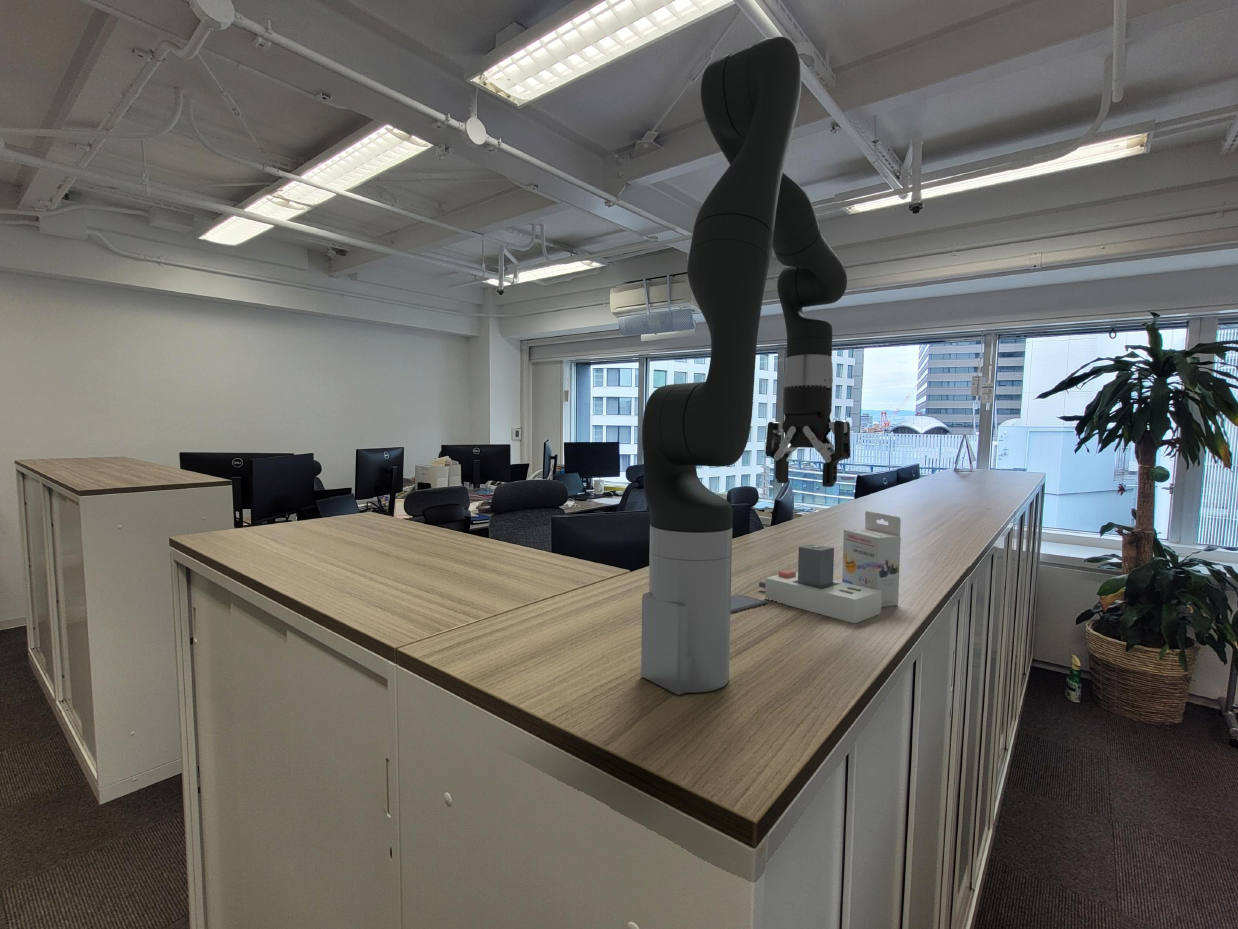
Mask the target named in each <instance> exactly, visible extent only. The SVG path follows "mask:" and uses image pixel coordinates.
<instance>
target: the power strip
mask: <svg viewBox="0 0 1238 929" xmlns="http://www.w3.org/2000/svg"><path fill="white" fill-rule="evenodd" d="M758 587H759V588H761V589H765V591H764V595H765V596H764V598H768V599H770V600H769V601H771V600H774V601H773V602H775V601H777V602H776V603H779V604H782V603H783V604H782V605H787V606H790V607H794V608H797V609H801V610H804V611H807V612H812V613H816V614H819V615H823V616H825V617H830V618H832V619H837V620H839V621H844V622H847V623H851V624H857V623H860V622H863V621H865V620H867V619H870V618H871V619H872V618H873V617H875V616H878V615H880V614H882V607H881V596H882V591H880V590H875V589H871V588H866V587H862V586H857V585H853V584H848V583H843V582H842V581H839V580H835V579H833V586H831V587H828V588H824V589H819V588H814V587H810V586H806V585H802V584H798V571H794V570H790V569H784V570H779V571H778V574H776V575H773V576H768V577H765V582H764V581H760V582H758ZM768 599H767V600H768Z"/></svg>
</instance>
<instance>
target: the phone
mask: <svg viewBox="0 0 1238 929" xmlns="http://www.w3.org/2000/svg"><path fill="white" fill-rule="evenodd" d="M736 595H737V596H734V595H732V596H733V597H731V611H730V615H733V614H736V613H735V612H737V613H739V612H738V611H741V612H743V611H742V610H745V611H747V610H746V609H748V610H751V609H750V608H752V609H754V608H753V607H756V608H758V607H757V606H759V607H762V606H761V605H763V604H767V605H769V601H766V600H762V599H758V598H756V597H752V596H748V595H745V596H742V595H743V594H742V595H738V594H736ZM763 606H764V605H763ZM732 613H733V614H732Z"/></svg>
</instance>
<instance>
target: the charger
mask: <svg viewBox="0 0 1238 929" xmlns="http://www.w3.org/2000/svg"><path fill="white" fill-rule="evenodd" d="M834 555H835V548H834V547H831V546H825V545H820V544H814V543H812V544H806V545H801V546H798V556H797V559H798V564H797V572H798V584H802V585H806V586H810V587H814V588H819V589H824V588H828V587H831V586H833V580H834V566H835V565H834V561H835V560H834V559H835V556H834Z"/></svg>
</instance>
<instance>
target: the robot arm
mask: <svg viewBox="0 0 1238 929" xmlns="http://www.w3.org/2000/svg"><path fill="white" fill-rule="evenodd" d="M801 94H802V65H801V58H800V55H799V51H798V50H797V47H796V45H795V43H793V42H792V40H791V39H789V38H787V37H785V36H772V37H767V38H764V39H762V40H760V41H757V42H756V43H752V44H749V45H747V46H746V47H743V48H741V49H738V50H736V51H734V52H733V51H732V52H731V53H728V54H726V55H724V56H721V57H719V58H717V59H715V60H713V61H712V62H710V63H709V64H708V65H707V67H706V68H705V69H704V72H703V74H702V77H701V83H700V100H701V101H700V102H701V107H702V110H703V111H702V112H703V114H704V118H705V121H706V123H707V125H708V128H709V129H710V132H711V134H712V136H713V139H714V140H715V142H716V144H717V146H718V147H719V149H720V151H721V152H722V154H723V155H724V157H725V159H726V161H727V162H728V164H729V166H728V168H727V169H726V170H725V171H724V173H723V174H722V175H721V176H720V178H719V180H718V181H717V182H716V183H715V185H714V186H713V188H712V190H711V191H710V192H709V194H708V195H707V197H706V199H705V200H704V202H703V203H702V205H701V207H700V209H699V210H698V213H697V215H696V218H695V222H694V225H693V230H692V236H691V242H690V246H689V252H688V254H689V255H688V259H687V270H686V271H687V278H688V283H689V287H690V290H691V292H692V295H693V297H694V300H695V302H696V303H697V306H698V307H699V310H700V311H701V314H702V316H703V318H704V320H705V323H706V324H707V327H708V331H709V336H710V344H711V345H710V360H709V366H708V372H707V376H706V379H705V381H701V382H700V381H699V382H687V383H673V384H666V385H661V386H659V387H658V388H655V390H653V392H651V394H650V396H649V398H648V400H647V402H646V403H645V407H644V412H643V417H642V427H641V428H642V430H641V431H642V432H641V436H642V437H641V440H642V441H641V442H642V443H641V445H642V462H643V463H642V464H643V465H642V467H643V489H644V490H643V491H644V498H645V503H646V505H647V508H648V510H649V554H648V555H649V564H648V570H649V572H648V592H645V593H643V594H642V598H641V645H640V646H641V649H640V650H641V651H640V652H641V657H640V658H641V659H640V664H641V665H640V667H641V668H640V676H641V677H642V678H644V679H646V680H648V681H650V682H652V683H654V684H656V685H657V686H660V687H662V688H664V689H666V690H667V691H670V693H673V694H675V695H677V696H678V695H679V696H680V695H683V694H688V693H706V692H712V691H715V690H718V689H721V688H723V687H724V686H726V685H727V684H728V682H729V681H730V656H731V651H730V650H731V614H730V611H731V596H732V595H731V594H732V558H733V557H732V556H733V554H732V553H733V552H732V551H733V518H734V516H733V507H732V503H731V502H730V501H728V500H727V499H726V498H724V497H722V496H721V495H719V494H717V493H715V492H713V491H711V490H710V489H709V488H707V487H706V486H705V485H704V484H703V483H702V481H701V480H700V479H699V476H698V471H697V466H698V467H720V468H721V467H730V466H732V465H734V464H735V463H736V462H738V461H739V460H740V458H741V457H742V456H743V455H744V452H745V449H746V447H747V444H748V441H749V438H750V433H751V432H750V431H751V427H752V426H751V425H752V420H753V419H752V418H753V417H752V415H753V406H754V404H753V403H754V391H755V390H754V386H755V375H756V374H755V373H756V359H757V358H756V357H757V344H758V333H759V326H760V320H761V312H762V305H763V300H764V293H765V288H766V284H767V283H766V282H767V277H768V272H769V267H770V261H771V255H772V250H773V252H774V256H775V257H776V259H777V261H778V262H779V263H780V264H781V265H783V266H786V267H784V268H783V269H782V270H781V272H780V274H779V275H778V278H777V283H776V288H777V290H776V291H777V295H778V299H779V302H780V306H781V309H782V313H783V317H784V323H785V329H786V330H785V331H786V356H785V358H786V359H785V367H784V373H783V374H784V376H783V398H782V399H783V400H782V401H783V402H782V403H783V404H782V407H783V408H782V412H783V415H784V420H783V422H779V421H769V422H768V423H767V429H766V430H767V431H766V441H765V452H764V454H765V456H766V457H770V458H772V459H773V460H775V468H774V469H775V472H774V477H775V479H776V482H777V483H778V484H787V483H788V482H789V467H790V465H789V464H790V461H788V460H789V458H790V457H791V455H792V454H793V452H795V451H797V449H798V448H802V449H803V448H807V449H810V448H811V449H815V451H816V452H817V453H819V454H820V456H821V457H822V459H823V461H824V463H822V479H821V480H822V481H821V484H822V486H823V488H824V487H826V488H832V487H834V485H835V484H836V483H837V480H838V464H839V462H841V461H844V460H849V459H850V458H851V426H850V425H851V424H850V422H849V421H848V420H842V419H841V420H840V419H838V420H835V421H832V420H831V414H832V408H833V382H834V379H833V377H834V373H833V371H834V369H833V360H832V359H833V358H832V356H833V355H832V354H833V326H832V324H831V322H829V321H828V320H826V319H821V318H814V317H812V318H811V317H805V315H804V313H803V308H808V307H809V308H810V307H816V306H824V305H831V304H834V303H836V302H838V301H839V300H840V299H842V298H843V296H844V295H845V291H846V290H847V287H848V276H847V272H846V268H845V267H844V264H843V262H842V261H841V259H840V258H839V256H838V255H837V254H836V253H835V251H834V250H833V249H832V247H831V246H830V245H829V244H828V242H827V240H826V238H824V236H823V235H822V231H821V229H820V226H819V225H820V224H819V222H818V218H817V215H816V211H815V208H814V205H813V203H812V201H811V199H810V197H809V195H808V193H806V191H805V189H804V188H803V187H802V186H801V185H800V184H799V183H798V182H796V180H794V179H793V178H792V177H790V176H789V175H788V174H787V173H786V172H784V168H785V164H786V161H787V156H788V152H789V148H790V143H791V140H792V136H793V133H794V128H795V124H796V120H797V116H798V113H799V112H798V111H799V108H800V107H799V106H800V102H801V101H800V100H801ZM830 433H832V434H833V436H834V438H833V440H834V444H833V443H832V441H831V440H830V438H829V436H828V435H829V434H830ZM782 434H785V436H784V437H783V439H782Z"/></svg>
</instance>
